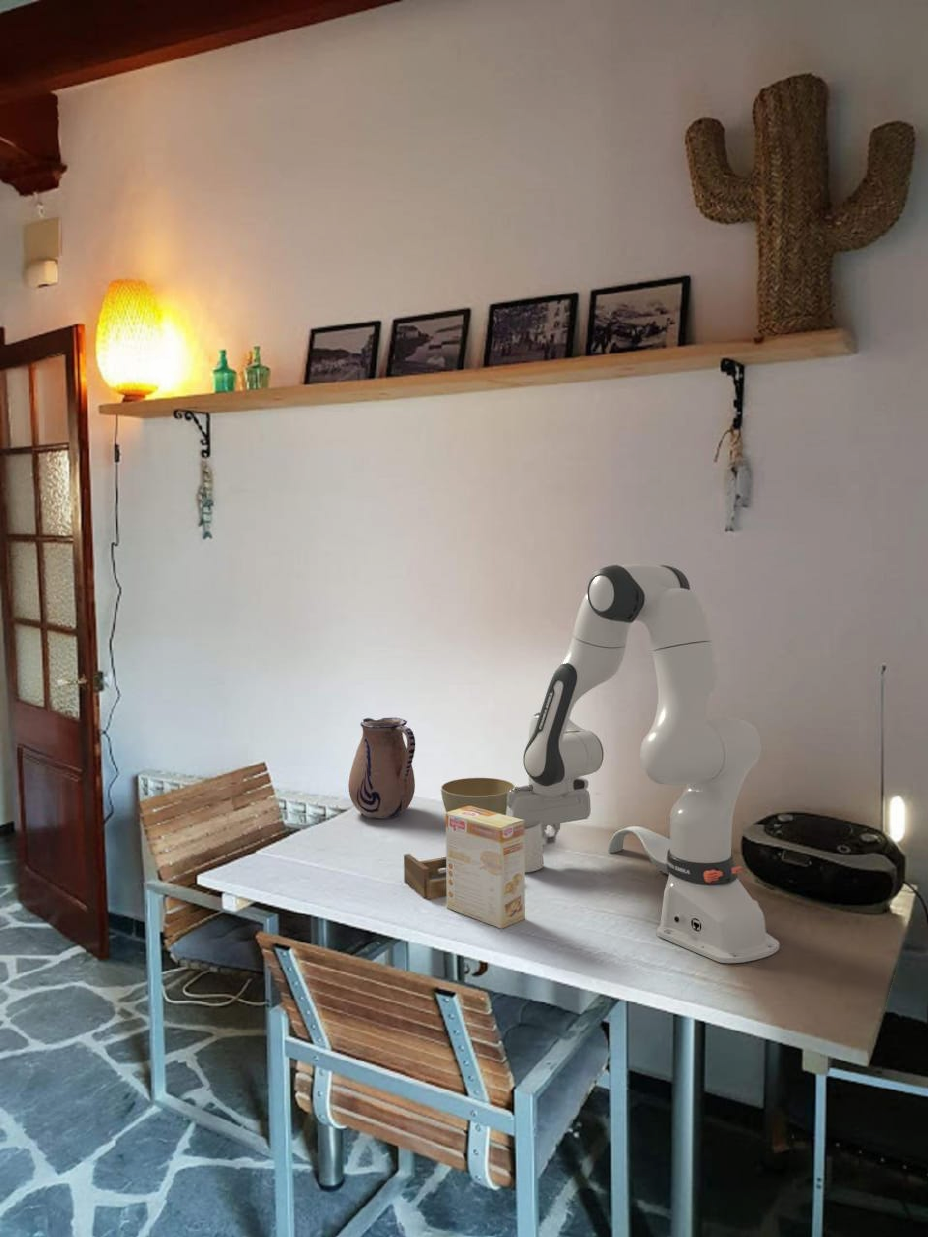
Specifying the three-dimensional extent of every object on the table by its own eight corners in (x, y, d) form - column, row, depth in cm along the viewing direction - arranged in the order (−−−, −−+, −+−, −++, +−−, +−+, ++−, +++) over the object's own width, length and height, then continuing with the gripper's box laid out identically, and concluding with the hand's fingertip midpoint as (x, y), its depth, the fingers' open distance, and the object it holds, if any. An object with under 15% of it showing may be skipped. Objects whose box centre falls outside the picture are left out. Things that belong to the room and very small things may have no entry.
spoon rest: (715, 872, 206) (715, 840, 205) (683, 886, 198) (683, 853, 197) (629, 846, 223) (629, 816, 223) (596, 858, 216) (596, 827, 215)
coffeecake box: (526, 919, 181) (526, 819, 179) (501, 930, 176) (500, 828, 174) (470, 898, 192) (469, 804, 190) (445, 908, 187) (444, 811, 185)
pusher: (452, 872, 205) (452, 850, 205) (471, 886, 197) (471, 862, 197) (430, 876, 203) (430, 854, 202) (448, 890, 195) (448, 867, 194)
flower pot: (520, 826, 239) (520, 778, 238) (507, 849, 221) (507, 798, 220) (451, 821, 243) (451, 775, 242) (433, 844, 225) (432, 794, 224)
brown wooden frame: (487, 864, 211) (487, 838, 210) (515, 882, 200) (515, 855, 199) (402, 880, 202) (401, 853, 201) (426, 900, 191) (425, 871, 190)
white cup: (522, 857, 214) (517, 815, 213) (552, 861, 209) (547, 818, 208) (504, 871, 208) (498, 827, 206) (534, 876, 203) (529, 831, 202)
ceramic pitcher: (378, 801, 262) (376, 712, 260) (439, 813, 250) (438, 720, 248) (335, 817, 248) (333, 722, 246) (397, 831, 236) (396, 732, 234)
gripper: (514, 792, 202) (514, 855, 203) (594, 780, 211) (594, 840, 212) (500, 784, 208) (500, 846, 209) (579, 774, 217) (578, 832, 218)
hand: (548, 843), depth 211 cm, fingers closed
